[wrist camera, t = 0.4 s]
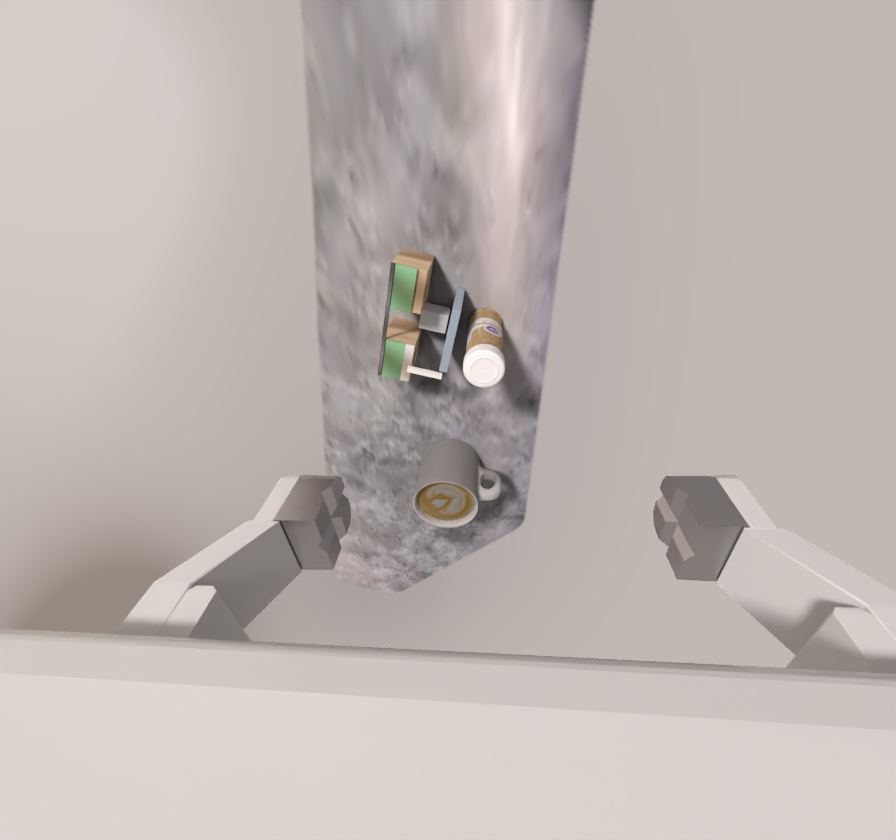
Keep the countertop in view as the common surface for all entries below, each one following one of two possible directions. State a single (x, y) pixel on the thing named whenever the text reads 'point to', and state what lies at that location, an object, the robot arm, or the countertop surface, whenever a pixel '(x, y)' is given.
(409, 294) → the tan and green block
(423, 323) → the gauge plunger
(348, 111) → the countertop surface
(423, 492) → the coffee mug
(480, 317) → the sprinkles bottle
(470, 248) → the countertop surface
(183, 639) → the robot arm
